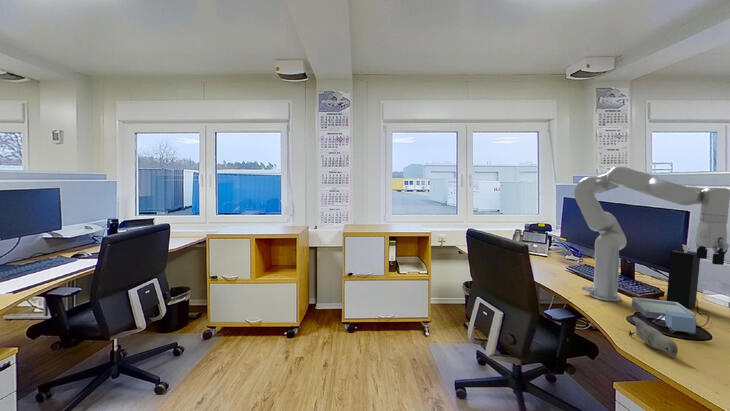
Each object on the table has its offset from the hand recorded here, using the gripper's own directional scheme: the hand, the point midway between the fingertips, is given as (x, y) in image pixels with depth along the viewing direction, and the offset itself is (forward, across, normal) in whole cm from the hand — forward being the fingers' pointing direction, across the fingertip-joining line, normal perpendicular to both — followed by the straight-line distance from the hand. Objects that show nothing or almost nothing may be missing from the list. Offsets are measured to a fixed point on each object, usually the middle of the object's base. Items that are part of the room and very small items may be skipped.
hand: (709, 261), depth 131 cm
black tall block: (+25, -20, +2) cm, 32 cm away
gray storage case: (+25, +14, -15) cm, 32 cm away
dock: (+25, -3, -13) cm, 28 cm away
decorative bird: (+26, +32, -30) cm, 51 cm away
